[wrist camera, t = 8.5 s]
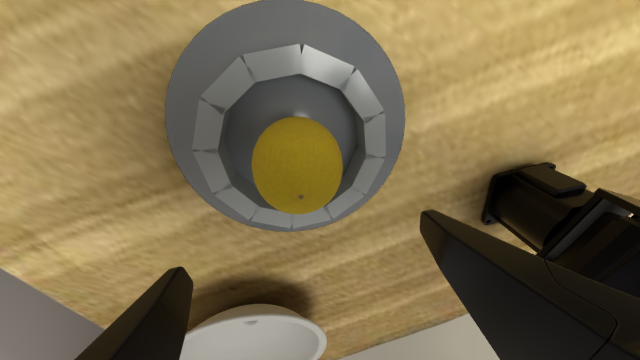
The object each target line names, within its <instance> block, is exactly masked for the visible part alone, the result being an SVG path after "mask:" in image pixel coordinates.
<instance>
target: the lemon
mask: <svg viewBox="0 0 640 360" xmlns="http://www.w3.org/2000/svg"><path fill="white" fill-rule="evenodd" d="M252 172H253V178H254V182H255V184H256V186H257V189H258V191H259V193H260V194H261V196H262V197H263V198H264V199H265V200H266V202H267V203H268V204H270V205H271V206H273V207H274V208H276V209H277V210H280V211H282V212H285V213H289V214H307V213H311V212H314V211H316V210H318V209H320V208H322V207H323V206H324V205H326V204H327V203H328V202H329V201H330V200H331V199H332V198H333V196H334V195H335V194H336V192H337V190H338V187H339V185H340V183H341V178H342V172H343V164H342V155H341V151H340V149H339V146H338V144H337V141H336V139H335V138H334V137H333V135H332V134H331V133H330V132H329V130H328V129H326V128H325V127H324V126H323V125H321V124H320V123H319V122H317V121H314V120H312V119H309V118H306V117H299V116H295V117H286V118H283V119H281V120H278V121H276V122H274V123H273V124H272V125H270V126H269V127H268V128H266V129H265V131H264V132H263V133H262V134H261V136H260V137H259V138H258V140H257V143H256V145H255V148H254V150H253V156H252Z"/></svg>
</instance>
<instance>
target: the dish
mask: <svg viewBox="0 0 640 360" xmlns="http://www.w3.org/2000/svg"><path fill="white" fill-rule="evenodd" d="M326 342H327V339H326V335H325V332H324V331H323V329H322V328H321V327H320V326H319V325H318V324H316V323H314V322H313V321H311V320H308V319H306V318H304V317H302V316H301V315H299V314H297V313H296V312H294V311H292V310H289V309H287V308H284V307H281V306H277V305H271V304H250V305H243V306H239V307H235V308H231V309H228V310H226V311H223V312H221V313H218V314H216V315H214V316H212V317H210V318H209V319H207V320H205V321H204V322H202V323H200V324H199V325H197V326H196V327H195V328H193V329H192V330H191V331H189V332H187V333H186V335H185V339H184V343H183V347H182V351H181V355H180V359H179V360H317V359H318V358H319V357H320V356H321V355H322V353H323V352H324V350H325V347H326Z"/></svg>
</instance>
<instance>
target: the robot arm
mask: <svg viewBox="0 0 640 360" xmlns="http://www.w3.org/2000/svg"><path fill="white" fill-rule="evenodd" d="M555 168H556V165H555V164H552V163H545V164H541V165H536V166H532V167H527V168H523V169H518V170H514V171H509V172H505V173H500V174H497V175H495V176H494V177H493V178H492V182H491V186H490V190H489V194H488V198H487V202H486V205H485V209H484V213H483V217H482V223H484V224H485V225H490V224H494V223H498V222H499V223H500V224H502V225H503V226H504V227H505V228H507V229H508V230H509V231H510V232H512V233H513V234H514V235H515V236H517V237H518V238H519V239H520V240H522V241H523V242H524V243H525V244H527V245H528V246H529V247H530V248H532V249H533V250H534V251H535V252H537V254H536V255H534V254H531V253H529V252H527V251H525V250H522V249H520V248H518V247H516V246H514V245H511V244H509V243H507V242H505V241H502V240H500V239H498V238H496V237H493V236H491V235H489V234H487V233H485V232H482V231H480V230H478V229H476V228H473V227H471V226H469V225H467V224H464V223H462V222H460V221H458V220H456V219H453V218H451V217H449V216H447V215H444V214H442V213H440V212H438V211H436V210H433V209H430V210H426V211H423V212H421V217H420V232H421V234H422V236H423V238H424V240H425V242H426V244H427V246H428V248H429V250H430V251H431V253H432V255H433V257H434V259H435V261H436V263H437V265H438V266H439V268H440V270H441V272H442V273H443V275H444V276H445V278H446V279H447V281H448V282H449V284H450V285H451V287H452V288H453V290H454V291H455V293H456V294H457V296H458V297H459V299H460V300H461V302H462V303H463V305H464V306H465V308H466V309H467V311H468V312H469V314H470V315H471V317H472V318H473V320H474V321H475V323H476V324H477V326H478V327H479V328H480V330H481V332H482V333H483V335H484V336H485V337H486V339H487V341H488V342H489V344H490V345H491V347H492V348H493V349H494V351H495V352H496V354H497V356H498V357H499V358H500V360H640V200H637V199H635V198H632V197H629V196H626V195H622V194H619V193H615V192H612V191H609V190H605V189H602V188H598V189H597V190H596V191H595V192H594V193H593V192H591V191H589V190H587V189H586V187H587V185H585V184H584V183H582V182H580V181H578V180H576V179H573V178H571V177H569V176H567V175H564V174H562V173H560V172H558V171H556V170H555ZM631 213H633V214H634V215H633V216H632V217H631V218H630V217H628V216H629V215H630V214H631ZM192 292H193V281H192V279H191V277H190V276H189V275H188V273H187V272H186V270H185V269H184V268H183V267H175V268H171V269H169V270H168V271H166V272H165V273H164V274H163V275H162V276H161V277H160V278H159V279H158V280H157V281H156V282H155V283H154V284H153V285H152V286H151V287H150V288H149V289H148V290H147V291H146V292H145V293H144V294H142V295H141V296H140V297H139V298H138V299H137V300H136V301H135V302H134V303H133V304H132V305H131V306H130V307H129V308H128V309H127V310H126V311H125V312H124V313H123V314H122V315H121V316H119V317H118V318H117V319H116V320H115V321H114V322H113V323H112V324H111V325H110V326H109V327H108V328H107V329H106V330H105V331H104V332H103V333H102V334H101V335H100V336H99V337H98V338H96V340H94V341H93V342H92V343H91V344H90V345H89V346H88V347H87V348H86V349H85V350H84V351H83V352H82V353H81V354H80V355H79V356H78V357H77V358H76V359H75V360H179V359H180V355H181V351H182V347H183V343H184V339H185V335H186V331H187V325H188V319H189V312H190V306H191V299H192Z"/></svg>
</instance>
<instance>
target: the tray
mask: <svg viewBox="0 0 640 360" xmlns="http://www.w3.org/2000/svg"><path fill="white" fill-rule="evenodd" d="M295 116H299V117H306V118H309V119H312V120H314V121H317V122H319V123H320V124H321V125H323V126H324V127H325V128H326V129H328V130H329V132H330V133H331V134H332V135H333V137H334V138H335V139H336V141H337V144H338V146H339V149H340V151H341V155H342V164H343V172H342V178H341V183H340V185H339V187H338V190H337V192H336V194H335V195H334V196H333V198H332V199H331V200H330V201H329V202H328V203H327V204H326V205H324V206H323V207H322V208H320V209H318V210H316V211H314V212H311V213H307V214H289V213H285V212H282V211H280V210H277V209H276V208H274V207H273V206H271V205H270V204H268V203H267V202H266V200H265V199H264V198H263V197H262V196H261V194H260V193H259V191H258V189H257V186H256V184H255V182H254V178H253V172H252V156H253V150H254V148H255V145H256V143H257V140H258V138H259V137H260V136H261V134H262V133H263V132H264V131H265V129H266V128H268V127H269V126H270V125H272V124H273V123H274V122H276V121H278V120H281V119H283V118H286V117H295ZM165 123H166V130H167V137H168V141H169V144H170V147H171V151H172V154H173V156H174V158H175V160H176V163H177V165H178V167H179V169H180V170H181V172H182V174H183V175H184V177H185V178H186V180H187V181H188V183H189V184H190V185H191V186H192V188H193V189H194V190H195V191H196V192H197V193H198V194H199V195H200V196H201V197H202V198H203V199H204V200H205V201H206V202H207V203H209V204H210V205H211V206H212V207H214V208H215V209H216V210H218V211H219V212H221V213H223V214H224V215H226V216H228V217H230V218H232V219H234V220H236V221H238V222H240V223H243V224H246V225H249V226H252V227H256V228H260V229H264V230H271V231H283V232H293V231H304V230H310V229H315V228H319V227H322V226H326V225H328V224H331V223H334V222H336V221H338V220H340V219H342V218H344V217H346V216H348V215H350V214H351V213H353V212H354V211H356V210H357V209H359V208H360V207H361V206H362V205H364V204H365V203H366V202H367V201H368V200H369V199H370V198H371V197H372V196H373V195H374V194H375V193H376V192H377V191H378V190H379V189H380V187H381V186H382V185H383V184H384V182H385V181H386V179H387V177H388V176H389V174H390V173H391V171H392V169H393V167H394V165H395V163H396V161H397V158H398V155H399V152H400V149H401V145H402V141H403V136H404V127H405V105H404V99H403V94H402V89H401V86H400V83H399V80H398V76H397V74H396V72H395V70H394V68H393V66H392V63H391V61H390V60H389V58H388V57H387V55H386V54H385V52H384V51H383V49H382V48H381V46H380V45H379V44H378V43H377V42H376V41H375V39H374V38H373V37H372V36H371V35H370V34H369V33H368V32H367V31H366V30H364V29H363V28H362V27H361V26H360V25H358V24H357V23H356V22H355V21H353V20H351V19H350V18H348V17H346V16H345V15H343V14H341V13H340V12H338V11H335V10H333V9H330V8H328V7H326V6H323V5H321V4H316V3H312V2H308V1H304V0H261V1H258V2H254V3H250V4H246V5H242V6H240V7H238V8H236V9H233V10H231V11H229V12H227V13H224V14H223V15H221V16H220V17H218V18H217V19H215V20H214V21H212V22H211V23H209V24H208V25H207V26H206V27H205V28H204V29H203V30H201V31H200V32H199V33H198V34H197V35H196V36H195V37H194V38H193V39H192V41H191V42H190V43H189V45H188V46H187V47H186V49H185V50H184V51H183V53H182V54H181V56H180V58H179V60H178V62H177V64H176V66H175V68H174V70H173V73H172V76H171V79H170V82H169V85H168V90H167V96H166V103H165Z"/></svg>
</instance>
